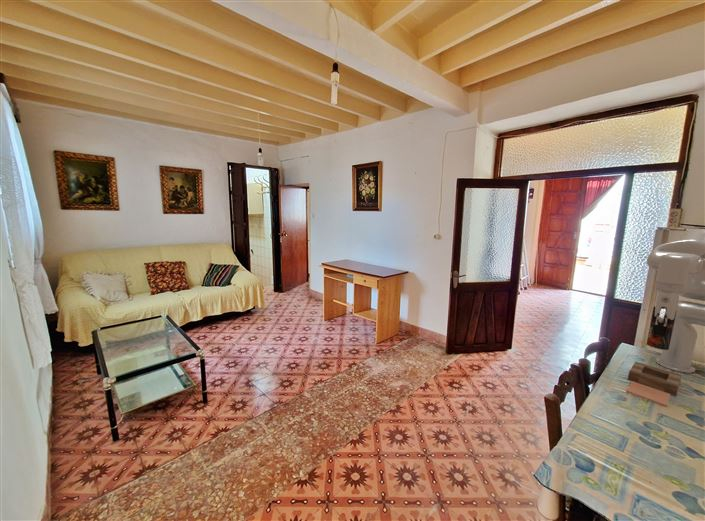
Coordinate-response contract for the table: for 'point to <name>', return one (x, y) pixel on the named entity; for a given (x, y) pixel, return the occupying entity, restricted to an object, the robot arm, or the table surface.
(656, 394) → the tile
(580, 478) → the table surface
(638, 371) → the holder block
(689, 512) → the table surface
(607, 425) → the table surface
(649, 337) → the deodorant
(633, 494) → the table surface
